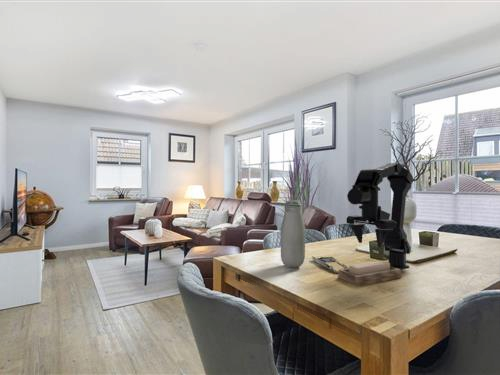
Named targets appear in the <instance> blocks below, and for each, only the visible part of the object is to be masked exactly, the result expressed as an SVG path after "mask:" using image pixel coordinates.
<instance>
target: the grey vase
mask: <svg viewBox="0 0 500 375" xmlns="http://www.w3.org/2000/svg"><path fill="white" fill-rule="evenodd" d="M284 203H285V204H284V208H283V209H284V212H283V219H282V221H281V224H280V259H281V262H282V264H283V265H284V266H285V267H287V268H290V269H292V268H293V269H295V268H299V267H301V266H302V265H303V264H304V262H305V257H306V226H305V225H306V224H305V221H304V218H303V205H302V203H301V201H300V200H296V199H293V200H292V199H290V200H288V201H286V202H284Z"/></svg>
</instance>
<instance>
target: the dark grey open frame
mask: <svg viewBox="0 0 500 375" xmlns="http://www.w3.org/2000/svg"><path fill="white" fill-rule="evenodd" d="M311 257H312V261H314V262H316V263H317V264H319V265H320V266H322V267H325V268H326V269H328V270H330V271H332V272H334V273H335V274H339V270H337V269H334V268H333V266H332V265H329V264H328V263H336V264H337V265H338V266H341V267H342V268H343V269H346V268H349V266H347V265H346V264H343V263H341V262H339V261H337V259H336V258H335V257H332V256H328V257H325V256H324V257H323V256H321V257H318V258H316V257H315V256H311Z"/></svg>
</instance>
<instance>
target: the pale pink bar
mask: <svg viewBox="0 0 500 375" xmlns="http://www.w3.org/2000/svg"><path fill="white" fill-rule="evenodd" d="M348 268H349V273H352V274H354V275H357V276H358V275H364V274H369V273H375V272H381V271H387V270H390V263H389V261H384V260H376V261H369V262H363V263H355V264H349V265H348Z"/></svg>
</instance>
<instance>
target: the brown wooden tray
mask: <svg viewBox="0 0 500 375" xmlns="http://www.w3.org/2000/svg"><path fill="white" fill-rule="evenodd" d="M401 269H402V268H401ZM401 269H398V268H394V267H391V266H390V270H387V271H381V272H375V273H369V274H364V275H358V276H357V275H354V274H352V273H349V267H348V268H346V269H345V268H342V269H340V268H339V269H338V272H339V273H338V274H337V278H338V279H340V280H343V281H345V282H348V283H350V284H352V285H354V286H358V287H360V286H361V287H362V286H365V285H370V284H375V283H376V284H377V283H380V282H385V281H390V280H391V281H392V280H396V279H397V280H398V279H402V274H401V272H402V270H401Z"/></svg>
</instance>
